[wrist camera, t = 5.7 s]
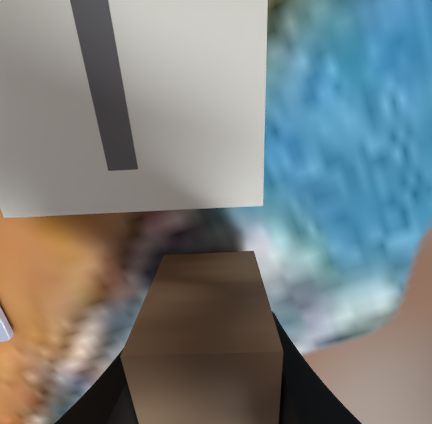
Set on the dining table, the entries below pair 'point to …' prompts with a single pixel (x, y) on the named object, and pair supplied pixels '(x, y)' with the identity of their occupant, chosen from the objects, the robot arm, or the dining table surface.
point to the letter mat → (131, 105)
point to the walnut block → (205, 344)
